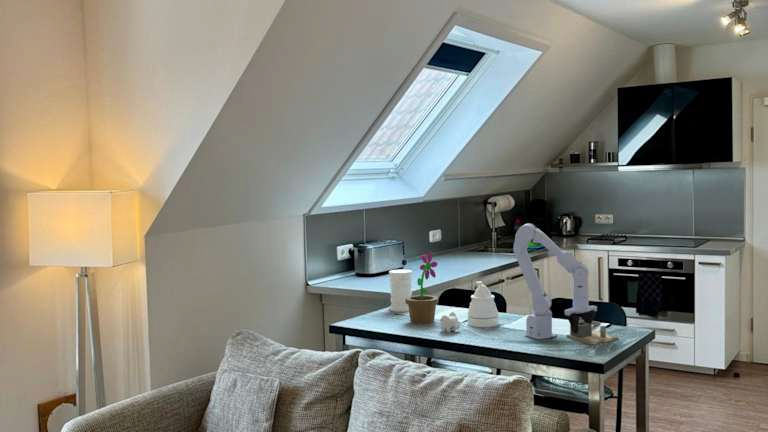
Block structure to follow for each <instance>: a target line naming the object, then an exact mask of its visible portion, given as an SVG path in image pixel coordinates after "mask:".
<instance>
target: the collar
mask: <svg viewBox="0 0 768 432" xmlns="http://www.w3.org/2000/svg"><path fill="white" fill-rule="evenodd" d="M592 326H593V325H592V324H589V323H585V322H578V332H577V333H573V332H572V329H571V325H569V327H570V328H569V331H570V333H569V334H570V335H573V336H576V337H580V338H582V337H588V336H592V331H593V329H592V328H593V327H592Z"/></svg>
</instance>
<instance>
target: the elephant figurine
mask: <svg viewBox="0 0 768 432" xmlns="http://www.w3.org/2000/svg"><path fill="white" fill-rule="evenodd" d="M439 322H440V329H441V332H443V333H451V332H453V331H458V330H459V329H460V328H461V327H463V324H461V323H460V322H459V319H458V317H457V315H456V313H455V312H453V311H451V312H450V313H449V314H448V316H447V315H442V316H441V317H440V319H439ZM460 326H461V327H460Z"/></svg>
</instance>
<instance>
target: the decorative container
mask: <svg viewBox="0 0 768 432" xmlns="http://www.w3.org/2000/svg"><path fill="white" fill-rule="evenodd" d="M388 275H389V276H390V279H389V281H390V303H391V304H390V305H389V307H388V309H389V311H391V312H397V313H398V312H400V313H401V312H403V313H405V312H409V307H408V304H406V302H405V299H406V297H409V296H413V292H412V287H413V286H412V280H413V279H412V275H413V270H411V269H392V270H389V271H388Z"/></svg>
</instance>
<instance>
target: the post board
mask: <svg viewBox="0 0 768 432" xmlns="http://www.w3.org/2000/svg"><path fill="white" fill-rule="evenodd" d="M567 337H568V338H567ZM566 338H567V339H570V338H572V339H571V340H574V339H575V340H574V341H577V340H578V341H577V342H581V343H584V342H585V344H588V345H595V344H601V343H606V342H612V341H618V340H619V339H620V338H619V336H616V335H613V334H609V333H607V326H606V325H600V331H598V330H596V329H595V330H593V329H592V336H588V337H582V338H580V337H576V336H573V335H570V333H569V334H566Z"/></svg>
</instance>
